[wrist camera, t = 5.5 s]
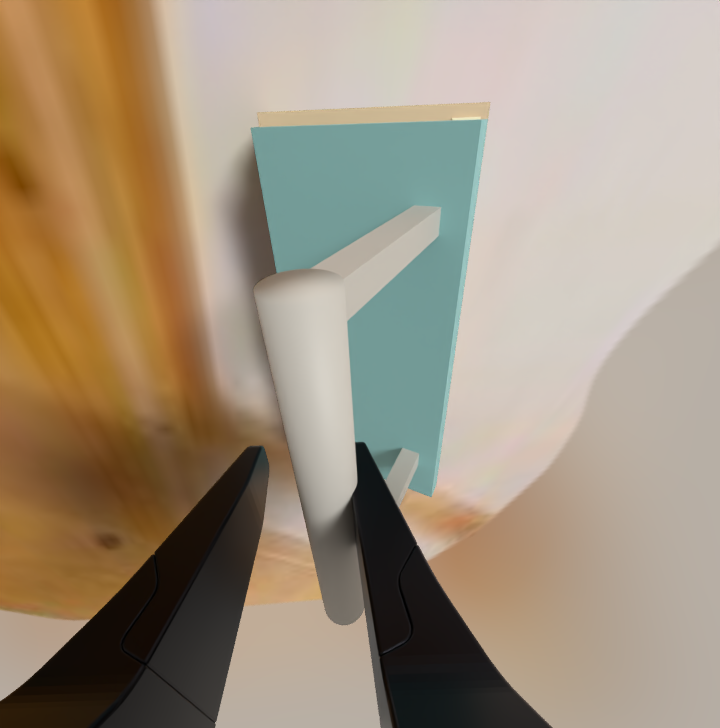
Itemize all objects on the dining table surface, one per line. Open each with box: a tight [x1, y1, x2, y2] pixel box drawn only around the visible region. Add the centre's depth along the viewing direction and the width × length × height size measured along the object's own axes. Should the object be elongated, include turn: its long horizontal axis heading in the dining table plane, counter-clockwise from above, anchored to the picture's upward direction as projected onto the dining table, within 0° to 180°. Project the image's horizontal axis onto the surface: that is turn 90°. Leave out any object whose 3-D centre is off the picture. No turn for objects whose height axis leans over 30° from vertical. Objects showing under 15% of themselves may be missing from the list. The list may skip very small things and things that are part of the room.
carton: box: [257, 102, 490, 426], centre depth 18 cm, size 16×8×3 cm, turn 2°
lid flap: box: [251, 119, 488, 625], centre depth 12 cm, size 15×7×8 cm, turn 2°
